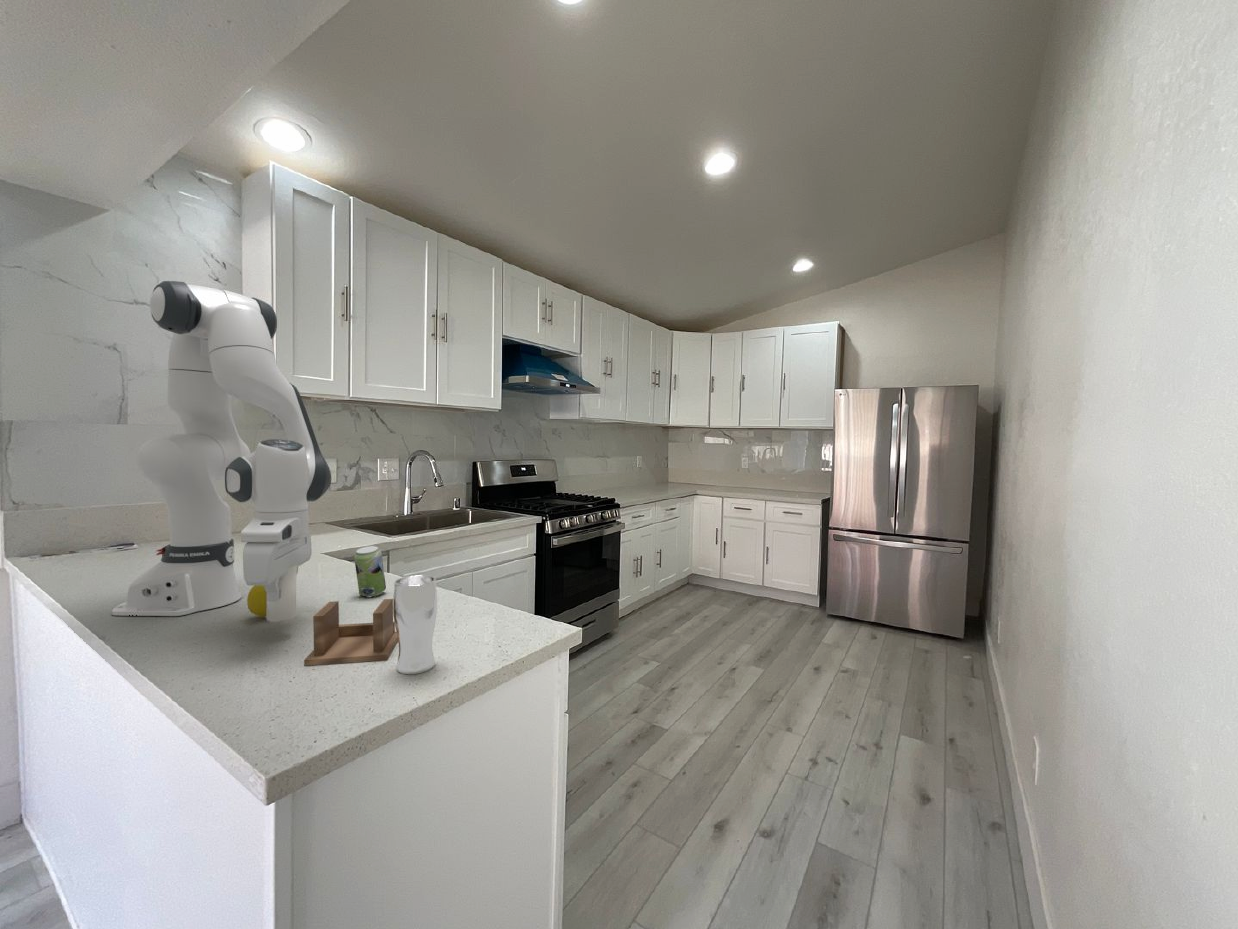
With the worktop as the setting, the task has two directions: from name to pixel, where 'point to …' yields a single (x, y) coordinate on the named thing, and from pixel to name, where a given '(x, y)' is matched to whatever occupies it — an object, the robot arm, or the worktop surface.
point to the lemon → (257, 601)
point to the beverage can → (370, 571)
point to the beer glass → (415, 622)
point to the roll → (284, 598)
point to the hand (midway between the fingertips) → (281, 595)
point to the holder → (352, 636)
